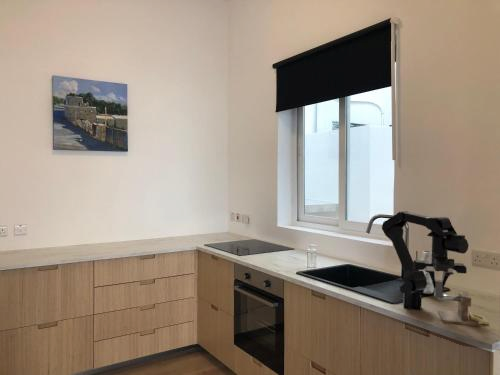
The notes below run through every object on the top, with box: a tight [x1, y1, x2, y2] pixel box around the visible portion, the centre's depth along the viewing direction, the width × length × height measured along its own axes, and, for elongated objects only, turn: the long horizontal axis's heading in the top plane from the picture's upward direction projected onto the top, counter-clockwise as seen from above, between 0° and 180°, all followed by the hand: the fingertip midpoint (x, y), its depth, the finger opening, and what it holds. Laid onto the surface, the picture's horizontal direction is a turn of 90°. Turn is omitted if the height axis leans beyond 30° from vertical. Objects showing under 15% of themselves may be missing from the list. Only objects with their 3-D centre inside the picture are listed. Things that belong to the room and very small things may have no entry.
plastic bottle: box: [419, 250, 434, 295], centre depth 194 cm, size 6×7×20 cm
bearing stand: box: [437, 290, 481, 327], centre depth 160 cm, size 13×12×10 cm
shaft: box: [433, 278, 461, 302], centre depth 161 cm, size 10×3×8 cm, turn 72°
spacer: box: [468, 311, 489, 325], centre depth 159 cm, size 1×6×6 cm
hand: (438, 288), depth 162 cm, fingers closed on shaft, 2 cm apart
